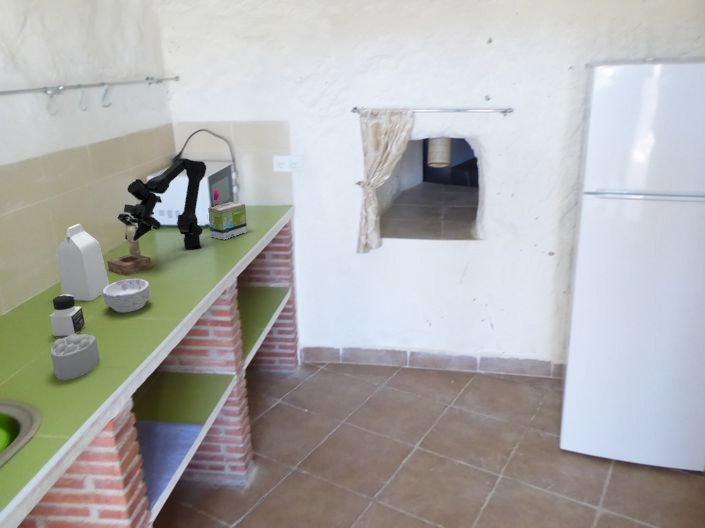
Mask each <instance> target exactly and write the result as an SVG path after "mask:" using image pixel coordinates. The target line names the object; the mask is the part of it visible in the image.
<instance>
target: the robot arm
mask: <svg viewBox="0 0 705 528" xmlns="http://www.w3.org/2000/svg"><path fill="white" fill-rule="evenodd" d="M184 171H185V174H186V176H187V180H188V183H187V187H186V194H185V201H184V206H183V207H184V208H183V211H182V213H181V214H178V215H177V222H176V225H177V226H176V227H177V229H178V230H179V233H180V234H181V235H184V237H182V238H183V244H184V248H185V249H186V250H195V249H202V246H201V240H200V236H201V235H202V234H203V228H202V226H200V225H199V224H198V217H197V215H196V210H197V203H198V199H199V198H198V197H199V190H200V183H201V181H202V180H203V179H204V177H205V175H206V172H207V164H206V163H205V162H204V161H201V160H191V159H189V158H187V157H186V158H185V157H179V158H177V159H176V161H175V162H174V163H172V164H171V165H170V166H169V167H168V168H167V169H166V170H164V171H163V172H161V174H159V175H156V176H153V177H151V178H150V179H148V180H147V182H145V183H144V182H143V180H142V179H141V178H140V179H139V178H136V179H135V181H133V182H131V183H130V184H128V186H127V193H129V194H130V195H131V196H133V197H134V199H136V200H137V201H140V202H139V203H136V204H135V205H131V204H126V203H125V204H124V206H123V213H119V214H118V216H117V219H118V221H120V222H121V223H122V224H124V225H125V226H127V225H136V224H137V226H136V229H137V231H136V233H135V235H134V238H133V240H134V241H136V240H137V239H138V240H140V238H141V237H142V236H144V235H145V234H147V233H148V232H150V231H152V229H153V230H157V231H159V230H160V228H161V227H162V226H161V222H160V221H159V220H157V219H156V218H155V217H152V215H154V214H155V212H154V209H155V207H156V205H157V203H158V204H160V203H161V204H162V202H163V201H162V199H161V196H160V195H163V194H165V193H166V192H167V191H168V189H169V187H170V184H171V182H172V181H173V180H175V179H176V178H177V177H178V176H179V175H181V173H183V172H184ZM156 194H160V195H156ZM127 213H128V214H127ZM124 239H125V240H126V241H128V239H127V233H126V232H125V237H124Z"/></svg>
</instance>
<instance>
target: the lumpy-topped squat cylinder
mask: <svg viewBox="0 0 705 528" xmlns="http://www.w3.org/2000/svg"><path fill="white" fill-rule="evenodd" d="M52 345H53V346H51V348H50V358H51V361H52V364H53V365H52V367H53V370H54V375H55V378H57V379H59V380H60V381H61V380H63V381H64V380H65V381H66V380H72V379H75V378H78V377H81V376H83V375H85V374H88V373H89V372H91V371H92V370H93V369H94V368H95V367H96V366H97V365H98V364H99V363H100V361H101V358H100V351H99V348H98V342H97V338H96V336H95V335H94V334H93V335H92V334H91V335H90V334H86V333H82V334H71V335H69V336H64V337H62V338H58V339H56V340H55V341H54V342H53V344H52Z"/></svg>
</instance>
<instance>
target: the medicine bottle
mask: <svg viewBox="0 0 705 528" xmlns="http://www.w3.org/2000/svg"><path fill="white" fill-rule="evenodd" d="M52 304H53V309H54V311H53V312H52V313H51V314H50V315H49V320H50V325H51V329H52V333H53V336H54V337H67V336H69V335H71V334H77V335H79V333H80V332H81V331H82V330H83V329H84V328H85V327H86V323H85V318H84V313H83V308H82V306H76V302H75V300H74V297H73V296H72V295H68V294H65V295H62V294H60V295H58V296H56V297H54V298H53V299H52Z"/></svg>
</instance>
